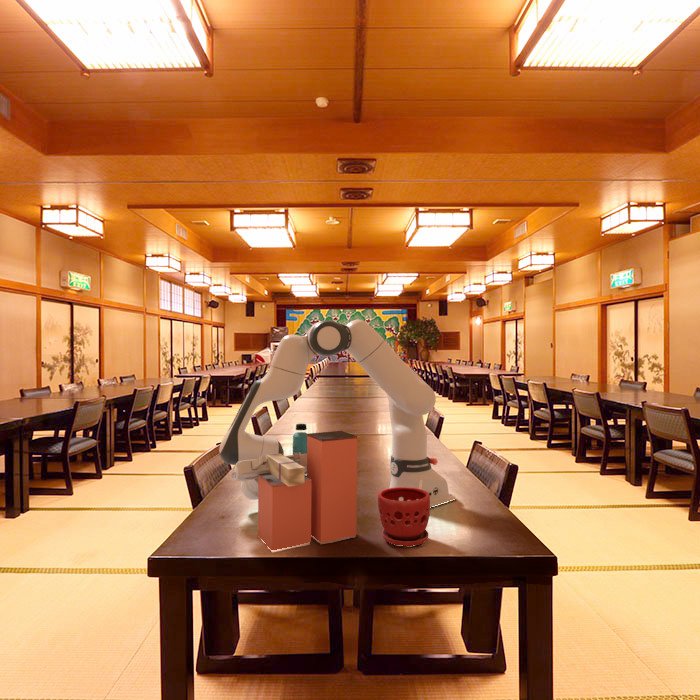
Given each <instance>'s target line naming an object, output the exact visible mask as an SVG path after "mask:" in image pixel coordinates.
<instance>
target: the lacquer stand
mask: <svg viewBox="0 0 700 700" xmlns="http://www.w3.org/2000/svg"><path fill="white" fill-rule="evenodd" d="M357 508H358V435H354V434H352V433H349V432H346V431H343V430H335V431H334V430H333V431H323V432H321V431H320V432H312V433H311V432H310V433H307V474H306V475H304V484H303V485H296V486H289V487H288V486H287V485H286V484H284V483H283V482H282V481H280V480H279V479H277V478H276V477H275V476H273V475H272V474H271V473H263V474H258V499H257V537H258V536H259V537H260V538H261V539H262V540H263V541H264V542H265V543H266V545H267V546H268V547H269V548H270V549H271V550H277V549H282V548H287V547H292V546H296V545H300V544H304V543H308V542H311V543H312V537H311V535H312V536H314V537H315V538H316V539H317V540H319V541H320V542H326V541H331V540H334V539H339V538H344V537H348V536H354V535H358V532H357V531H358V529H357V524H358V520H357V517H358V514H357V513H358V509H357ZM259 537H258V538H259ZM260 538H259V539H260Z"/></svg>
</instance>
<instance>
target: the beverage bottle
mask: <svg viewBox="0 0 700 700" xmlns="http://www.w3.org/2000/svg"><path fill="white" fill-rule="evenodd" d="M307 429H308V428H307V424H306V423H297V424H295V430H296V431H298V432H295V433H294V434H293V435H292V447H291V448H292V455H294V454H295V453H299V452H300V453H301V454H307V434H308V433H307V432H305V431H306V430H307ZM304 475H307V471H306V472H305V473H304Z"/></svg>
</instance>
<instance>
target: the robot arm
mask: <svg viewBox="0 0 700 700" xmlns="http://www.w3.org/2000/svg"><path fill="white" fill-rule="evenodd" d="M344 351H345V352H347V353H348V354H349V355H351V357H352V358H353V359H354V360H355V361H356V363H357V364H358V365H359V366H360V367H361V368H362V369H363V371H364V372H365V373H366V374H367V375H368V376H369V378H370V379H371V380H372V381H373V382H374V383H376V384H377V386H378V387H380V389H382V390H383V391H384V392H385V393H386V396H387V399H388V409H389V417H390V424H391V432H392V433H391V456H390V473H391V474H390V482H389V488H395V487H411V488H418V489H422V490H425V491H426V492H428V493H429V495H430V507H432V506H435V505H438V504H441V503H444V502H447V501H450V500H453V499H456V500H457V497H456V496H455V495H454V494H453V493H452V492H450V491H449V486H448V485H449V484H448V481H447V480H446V479H445V478H444V477H443V476H442V475H441V474H440V473H438V471H436V470H434V468H432V465H434V466H435V465H436V466H437V464H438V463H439V461H438V459H437V458H434V457H429V456H428V431H427V429H426V425H425V422H424V415H427V414H429V413H431V411H432V410H433V408H434V407H435V405H436V399H437V398H436V394H435V393H436V392H435V391H434V389H433V388H432V387H431V386H430V385H429V384H427V382H426V381H424V380H423V378H422V377H421V376H420V375H419V374H418V373H416V372H415V371H414V369H412V367H411V366H409V365H408V364H407V362H404V360H402V358H401V357H400V356H399V355H398V353H396V351H394V349H393V348H392V347H391V346H390V345H389V343H387V341H386V340H385V339H384V338H383V337H382V336H381V335H380V334H379V332H378V331H376V330H375V328H373V326H371V325H370V324H368V323H367V322H366V321H365V320H362V319H354V320H351V321H349V322H348V323H347V324H342V323H340V322H337V321H334V320H329V319H328V320H327V319H326V320H320V321H318V322H317V321H316V322H315V323H313V324H312V326H311V327H309V329H308V330H307V331H306V332H305V333H304V334H303V335H299V334H287V335H284V337H282V338H281V340H280V341H279V343H278V345H277V347H276V349H275V351H274V354H273V357H272V360H271V362H270V366H269V369H268V370H267V372H266V373H265V375H264V376H263V377H262V378H261V379H258V380H257V379H256V380H255V381H254V382H253V384H252V385H251V386H250V388H249V390H248V391H247V393H246V395H245V397H244V399H243V401H242V403H241V404H240V407H239V408H238V411H237V413H236V415H235V416H234V419H233V420H232V423H231V425H230V426H229V428H228V430H227V432H226V433H225V435H224V437H223V438H222V440H221V442H220V445H219V451H218V452H219V453H218V455H219V456H220V459H221V460H222V461H223V462H224V463H225V464H226V465H232V466H234V471H233V472H232V473H231V474H230V479H233V478H234V479H235V480H236V481H238V482H241V483H240V492H241V493H242V495H243V496H244V497H245V498H247V499H248V500H252V501H255V500H257V501H258V474H263V473H269V471H270V469H269V468H268V462H267V460H268V458H266V455H270V454H282V455H284V456H286V457H287V458H289V459H291V460H293V461H295V462H296V463H298V464H299V465H301V466H303V467H305V472H306V471H307V454H301V453H300V452H299V453H295V454H294V455H293V454H289V455H285V453H284V448H283V446H282V444H281V443H280V440H278V438H277V439H276V438H274V437H269V436H263V435H258V434H253V433H250V432H246V428H247V427H248V425H249V423H250V422H251V419H252V416H253V415H254V412H255V411H256V409H257V408H258V407H259V406H261V405H262V404H264V403H267V402H268V403H269V402H271V401H272V402H273V401H282V400H286V399H290V398H291V397H294V396H296V395H297V394H298V393H299V392H300V391H301V389H302V387H303V384H304V381H305V378H306V375H307V371H308V367H309V365H310V363H311V361H312V360H313V358H315V357H323V358H327V357H328V358H329V357H333V356H335V355H337V354H339V353H341V352H344ZM305 472H304V473H305ZM416 500H418V499H416ZM399 501H403V497H400V498H399ZM407 501H411V500H407Z"/></svg>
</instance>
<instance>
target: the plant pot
mask: <svg viewBox="0 0 700 700" xmlns="http://www.w3.org/2000/svg"><path fill="white" fill-rule="evenodd" d="M400 497H403V501H399V498H400ZM416 499H418V500H416ZM407 500H411V501H407ZM377 504H378V505H377V507H378V512H379V519H380V523H381V525H382V528H383V530H382V532H381V534H382V535H381V536H382V538H383V540H385V542H387V543H388V542H389V544H390V543H392V544H395V545H403V546H413V545H419V544H421V545H423V544H424V543H426V542H427V541H428V539H429V532H428V530H427V527H428V524H429V519H430V513H431V509H430V495H429V493H428V492H426V491H425V490H422V489H418V488H411V487H395V488H390V487H389V488H384V489H382V490H381V491H379V492H378V494H377ZM422 543H423V544H422ZM392 544H391V545H392ZM419 546H420V545H419Z"/></svg>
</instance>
